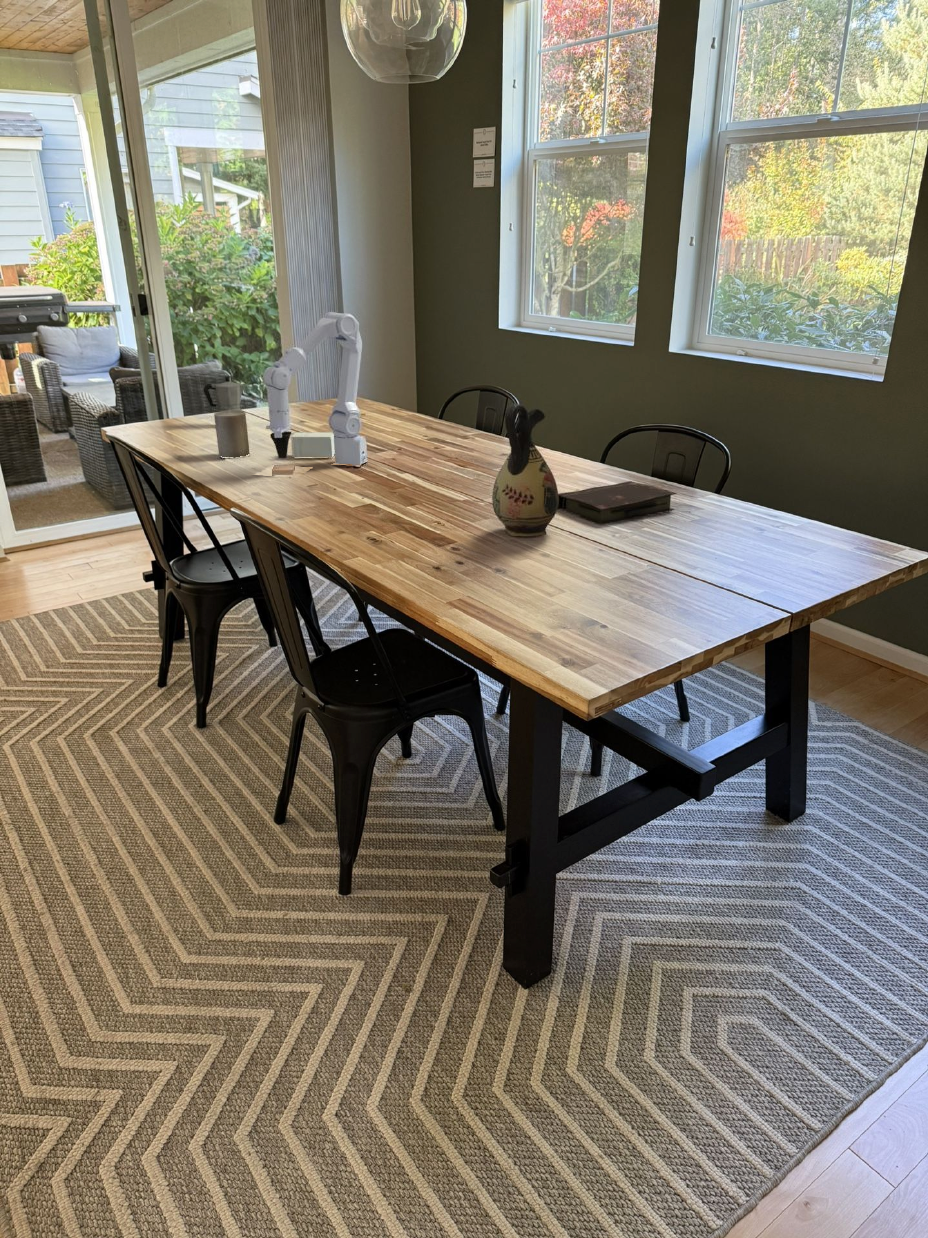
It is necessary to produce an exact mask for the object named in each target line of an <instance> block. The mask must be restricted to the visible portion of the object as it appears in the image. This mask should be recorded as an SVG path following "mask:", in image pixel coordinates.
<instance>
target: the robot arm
mask: <svg viewBox="0 0 928 1238" xmlns="http://www.w3.org/2000/svg"><path fill="white" fill-rule="evenodd" d="M359 329H360V322H359V321H358V320H357V319H356V317H354V316H353V315H352V314H350V313H342V312H341V313H340V312H339V313H338V312H334V311H329V312H327V313H325V314H324V316H323V317H321V318H320V319H318V322H317V325H315V327H314V328H313V329H312V330H311V332H309V334H307V336H306V337H305V338H304V339H303V341H302V342H301V343H299V345H298V346H297V347H293V346H292V347H290V348H286V349H285V350H284V354H283V355H282V357H280V358H279V359H278V361H277V360H275V362H273V366H269V367H267V368H266V369H265V370H264V373H263V375H262V377H261V380H262V382H263V384H264V385H265V387H266V391H267V404H268V416H269V417H268V418H269V425H266V426H265V429H266V430H270V431H272V432H271V433H270V438H271V440H272V442H273V444H274V446H275V449H276V454H277V457H278V459H287V458H288V448H289V441H290V438H291V436H292V431H289V430H291V429H292V425H291V415H290V404H289V393H288V392H289V391H288V387H289V386H290V385H291V384H292V378H293V377H294V376H295V375H296V374H297V373H298V372H299V371H300V370H301V368H302V367H304V366H305V365H306V363H307V357H308V355H310V354H311V353H312V352H314V350H315V349H316V348H317V347H318V346H319V345H321V344H322V343H323V342H324V341H325V340H326V339H333V338H334V339H335V340H336V341H337V342H338V343H339V344H340V345H341V347H342V356H341V365H340V373H339V374H340V375H339V383H338V384H339V385H338V392H337V393H338V394H337V402H336V403H335V404H334V405H333V407H332V410H331V414H330V415H329V418H328V425H329V428H330V430H331V431H332V433H333V434H334V450H335V456H334V462H335V463H339V464H352V465H361V464H362V463H365V462H367V461H368V450H367V449H368V448H367V439H366V437H365V436H362V435H361V436H360V435H359V433H360V432H361V430H362V426H363V425H362V420H361V411H360V409H359V407H358V406H357V396H358V389H359V379H360V369H361V361H362V351H363V341H362V337H361V333H360V330H359Z"/></svg>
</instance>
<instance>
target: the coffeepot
mask: <svg viewBox="0 0 928 1238" xmlns="http://www.w3.org/2000/svg"><path fill="white" fill-rule="evenodd" d="M224 379H225V381H224V382H221V383H207V384H205V386H204V387H203V390H202V391H203V393H204V396H205V398H206V399H207V401H208V404H209V405H210V407H213V408H216V407H217V403H213V398H212V397H211V394H210V391H209V390H215V391H216V397H217V400H218V403H219V404H220V410H219V412H221V411H229V410H230V411H231V410H239V411H242V409H241V406H240V404H241V402H242V400H241V398H242V395H243V393H244V391H245V389H246V388H247V387H248V385H246V384H244V383H238V382H232V381H230V379H231V378H230V376H225V377H224Z"/></svg>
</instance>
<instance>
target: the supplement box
mask: <svg viewBox="0 0 928 1238" xmlns="http://www.w3.org/2000/svg"><path fill="white" fill-rule="evenodd" d="M290 438H291V439H290V441H291V442H290V443H291V452H292V453H291V455H292V458H293V457H328V458H331V457H333V456H334V454H335V450H334V434H333V432H295V433H294V434H293V435H291V436H290ZM334 457H335V456H334ZM334 457H333V458H334Z"/></svg>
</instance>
